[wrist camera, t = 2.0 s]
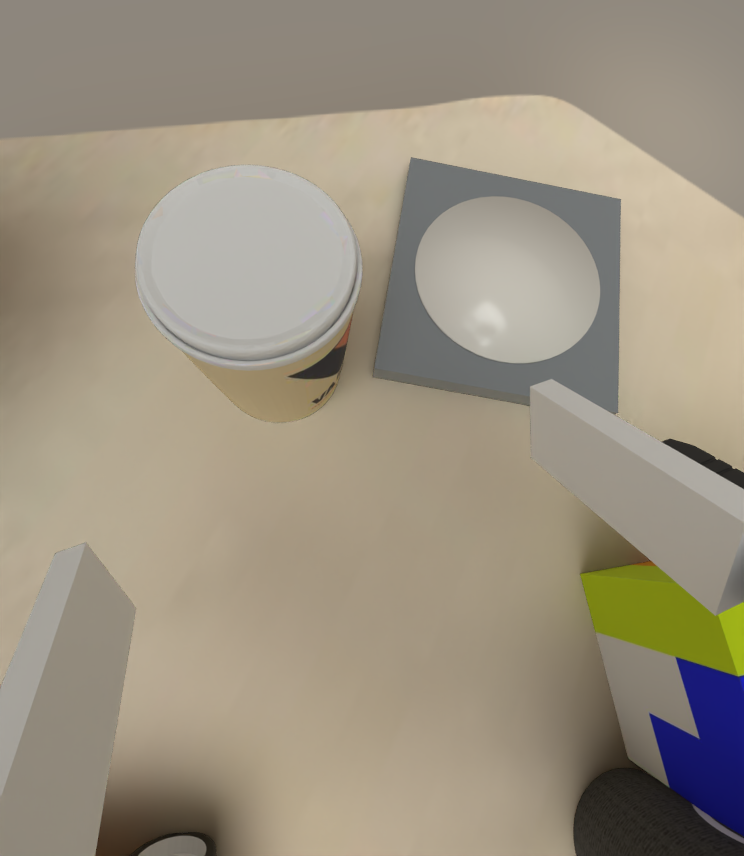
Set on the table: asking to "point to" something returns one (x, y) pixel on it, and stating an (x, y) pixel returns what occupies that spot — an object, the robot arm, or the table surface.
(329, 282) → the coffee cup
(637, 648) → the puzzle toy
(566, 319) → the gray square plate
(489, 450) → the table surface
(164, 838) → the orange toy car
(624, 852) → the coffee cup
